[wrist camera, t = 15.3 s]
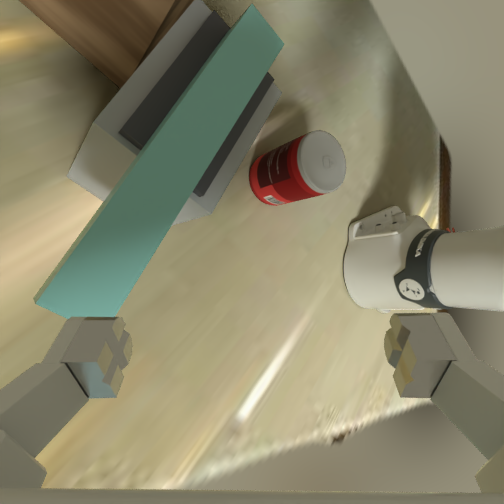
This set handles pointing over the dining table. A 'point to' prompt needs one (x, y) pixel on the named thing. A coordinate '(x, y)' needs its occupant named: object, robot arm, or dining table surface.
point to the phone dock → (158, 106)
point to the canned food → (299, 169)
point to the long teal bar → (161, 177)
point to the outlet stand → (111, 29)
